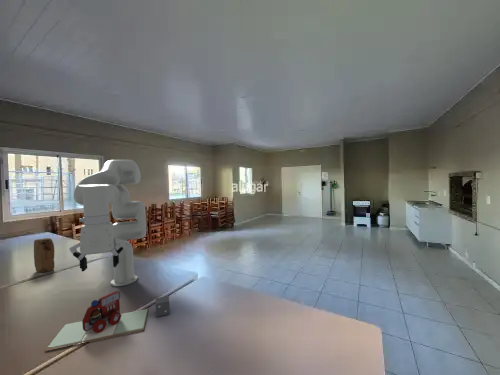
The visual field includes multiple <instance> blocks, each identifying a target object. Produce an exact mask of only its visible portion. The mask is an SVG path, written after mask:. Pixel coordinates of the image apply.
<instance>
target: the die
mask: <svg viewBox="0 0 500 375" xmlns="http://www.w3.org/2000/svg"><path fill="white" fill-rule="evenodd" d="M170 304H171V303H170V295H167V296H162V297H161V296H160V297H155V318H158V317H163V316H167V315H170V314H171V310H170V307H171V306H170Z"/></svg>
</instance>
